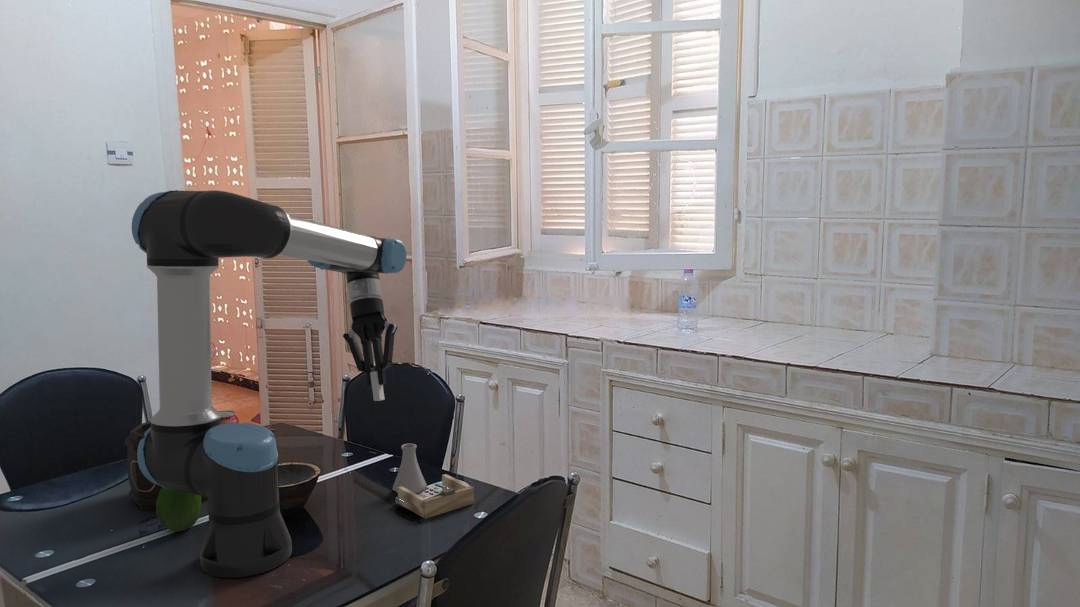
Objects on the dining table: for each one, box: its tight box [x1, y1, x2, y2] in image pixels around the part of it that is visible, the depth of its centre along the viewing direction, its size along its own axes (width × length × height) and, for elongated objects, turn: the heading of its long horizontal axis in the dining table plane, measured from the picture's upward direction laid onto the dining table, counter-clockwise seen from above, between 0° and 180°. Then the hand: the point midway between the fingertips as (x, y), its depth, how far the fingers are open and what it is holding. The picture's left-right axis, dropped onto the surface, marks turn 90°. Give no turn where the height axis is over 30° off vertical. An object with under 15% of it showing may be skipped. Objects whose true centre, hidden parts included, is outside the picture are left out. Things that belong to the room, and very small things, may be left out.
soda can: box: [217, 410, 240, 424], centre depth 184 cm, size 7×7×12 cm
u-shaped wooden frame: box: [397, 473, 475, 520], centre depth 158 cm, size 11×12×4 cm
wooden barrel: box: [124, 420, 208, 512], centre depth 162 cm, size 18×18×16 cm
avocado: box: [155, 487, 202, 533], centre depth 145 cm, size 8×8×12 cm
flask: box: [392, 442, 428, 494], centre depth 166 cm, size 7×7×10 cm
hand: (379, 400), depth 172 cm, fingers closed
